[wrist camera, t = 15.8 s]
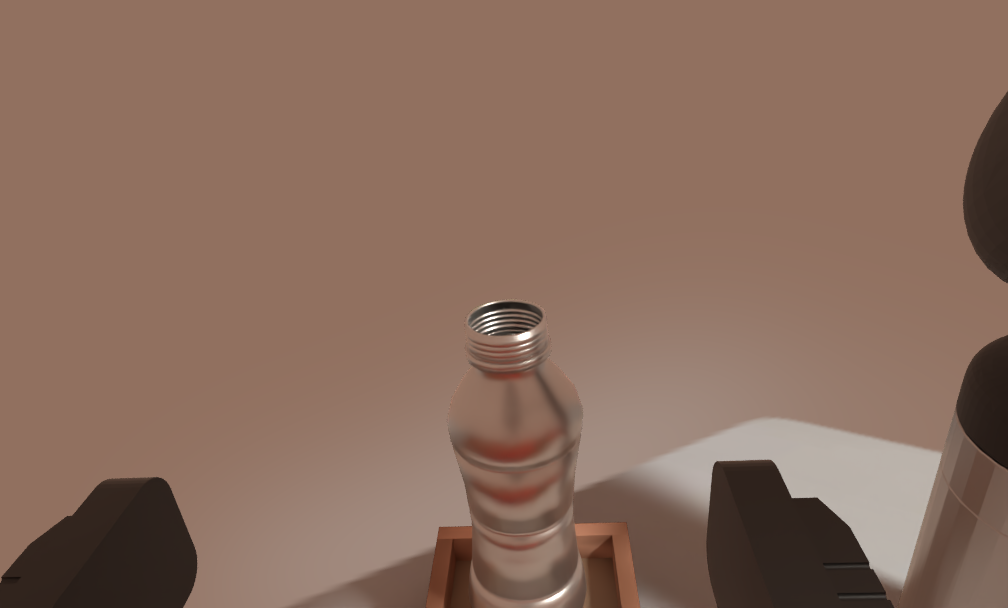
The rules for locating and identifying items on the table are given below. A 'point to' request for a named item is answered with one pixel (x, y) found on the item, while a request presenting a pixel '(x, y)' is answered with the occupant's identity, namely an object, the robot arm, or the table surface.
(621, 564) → the dock
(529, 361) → the plastic bottle
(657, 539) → the table surface
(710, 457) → the table surface
